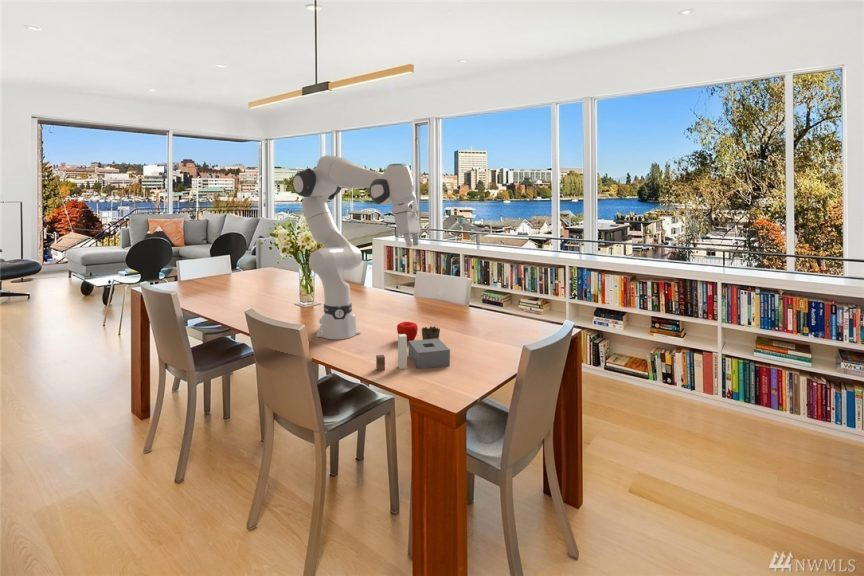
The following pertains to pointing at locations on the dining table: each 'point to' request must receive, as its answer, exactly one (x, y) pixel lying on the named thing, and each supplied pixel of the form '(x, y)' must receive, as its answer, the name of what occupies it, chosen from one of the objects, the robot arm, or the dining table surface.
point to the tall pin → (402, 351)
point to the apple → (408, 330)
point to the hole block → (429, 353)
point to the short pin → (380, 362)
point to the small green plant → (430, 333)
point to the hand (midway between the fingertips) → (413, 246)
